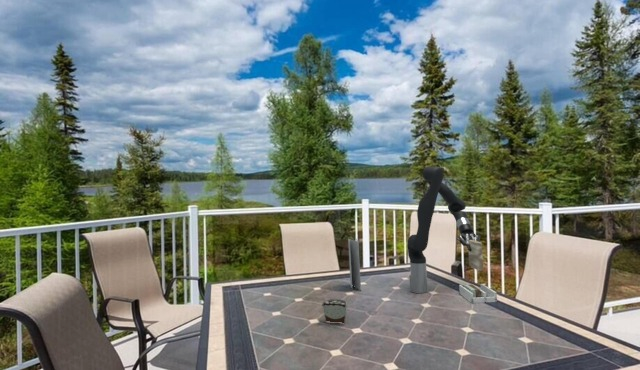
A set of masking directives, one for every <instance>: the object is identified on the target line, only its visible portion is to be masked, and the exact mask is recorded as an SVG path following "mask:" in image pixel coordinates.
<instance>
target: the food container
mask: <svg viewBox="0 0 640 370" xmlns="http://www.w3.org/2000/svg"><path fill="white" fill-rule="evenodd" d="M321 307H322V308H323V314H324V315H323V316H324V318H325V319H324V320H325V322H326V321H330V322H342V323H345V324H346V314H347V308H348V303H347V301H346V300H345V299H340V298H331V299H326V300H324V301H322V303H321Z"/></svg>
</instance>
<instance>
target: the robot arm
mask: <svg viewBox="0 0 640 370" xmlns="http://www.w3.org/2000/svg"><path fill="white" fill-rule="evenodd" d="M422 178H423V180H425V182H426V183H428V184H429V185H430V186H429V187H428V190H427V191H426V192H425V194H424V195H423V196H422V197H421V198H420V200H419V203H418V207H417V212H416V216H417V230H416V234H411V235H410V236H409V237H408V239H407V255H408V258H409V266H410V267H409V268H410V271H409V272H410V275H409V277H408V278H409V291H410V292H411V293H415V294H426V293H428V290H429V289H428V276H427V275H428V272H427V257H426V256H425V255H424V251H425V250H426V249H427V247H428V244H429V237H430V230H431V225H432V220H433V217H434V212H435V208H436V203H437V202H436V201H437V199H438V194H439V195H440V196H441V198H442V199H443V200H444V201H445V203H446V204H448V205H447V209H448V211H449V212H450V213H451V215H452V216H453V218H454V219H455V222H456V226H457V228H458V231H459V234H460V235H458V236H457V238H456V240H457V241H458V242H459V243H460V244H461V245H462V246H463V247H466V248H467V251H468V250H469V251H470V252H471V250H472V249H471V246H470V244H469V240H475V241H478V242H481V234H478V235H477V234H476V233H475V232H474V230H473V227H472V225H471V222H470V220H469V218H468V216H467V214H466V212H465V211H464V210H465V209H466V206H467V204H466V203H465V201H464V200H463V199H461V198H460V197H458V196H457V195H456V194H455V192H454V191H453V189H451V188H450V187H449V186H448V185H446V184H444V183H443V179H444V169H443V167H440V166H426V167H424V169H423V170H422ZM469 251H468V252H469Z"/></svg>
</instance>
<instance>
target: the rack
mask: <svg viewBox="0 0 640 370" xmlns="http://www.w3.org/2000/svg"><path fill="white" fill-rule="evenodd" d="M470 285H474V284H473V283H472V284H470ZM474 286H475V287H477V288H478V289H480V297H478V298H473V293H472V292H470V291H469V290H467V289H466V288H465V286H463V285H462V284H459V285H458V289H459V291H458V292H459V295H461V296H462V297H463V298H464V299H465V300H467V301H468V302H469V303H470V304H482V303H485V302H486V303H497V302H498V300H497V299H498V298H497V291H495V290H493V289H492V288H490V287H488V286H487V285H486V284H483V283H480V288H479V287H478V286H476V285H474Z"/></svg>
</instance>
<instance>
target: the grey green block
mask: <svg viewBox="0 0 640 370" xmlns="http://www.w3.org/2000/svg"><path fill="white" fill-rule="evenodd" d="M468 285H469V286H471V287H472V288H474V289H475V291H476V298H478V297H480V289H478V288H479V287H478V286H476V285H475V286H476V287H475V286H474V284H473V285H471V284H468ZM477 287H478V288H477Z"/></svg>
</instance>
